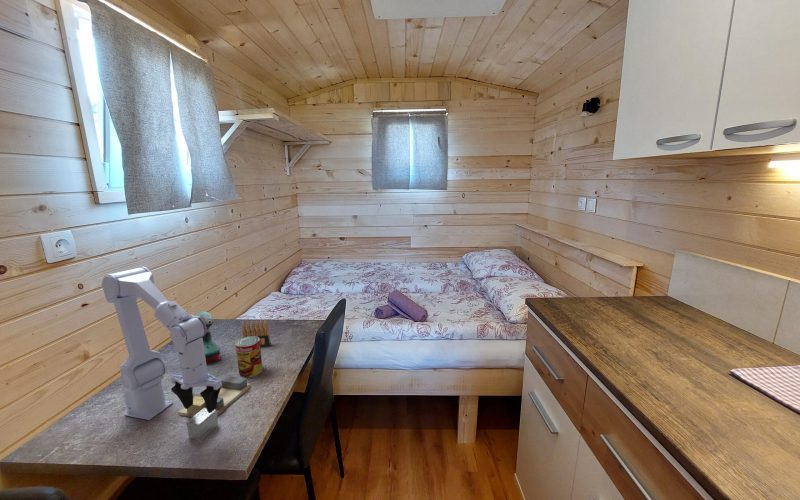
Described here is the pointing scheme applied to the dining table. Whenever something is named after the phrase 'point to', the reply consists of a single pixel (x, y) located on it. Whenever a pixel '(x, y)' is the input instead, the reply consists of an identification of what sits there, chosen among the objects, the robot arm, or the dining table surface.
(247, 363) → the canned food
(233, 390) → the vise
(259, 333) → the ammunition clip
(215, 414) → the steel block
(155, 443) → the dining table surface
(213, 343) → the power drill
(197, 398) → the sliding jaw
